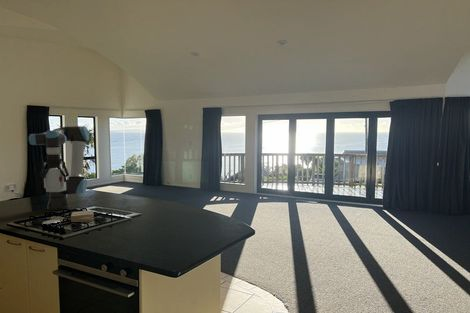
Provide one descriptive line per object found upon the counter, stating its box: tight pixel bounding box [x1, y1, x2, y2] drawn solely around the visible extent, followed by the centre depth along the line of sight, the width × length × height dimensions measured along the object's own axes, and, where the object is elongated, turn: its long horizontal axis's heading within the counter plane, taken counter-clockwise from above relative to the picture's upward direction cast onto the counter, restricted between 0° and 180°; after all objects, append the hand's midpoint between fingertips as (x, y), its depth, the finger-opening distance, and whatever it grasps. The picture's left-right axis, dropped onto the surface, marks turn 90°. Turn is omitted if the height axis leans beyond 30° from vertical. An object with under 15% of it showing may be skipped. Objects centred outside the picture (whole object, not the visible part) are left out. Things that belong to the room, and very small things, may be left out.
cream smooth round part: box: [42, 219, 61, 225], centre depth 216 cm, size 10×10×1 cm
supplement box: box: [44, 168, 66, 193], centre depth 226 cm, size 9×9×15 cm
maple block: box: [70, 209, 94, 223], centre depth 224 cm, size 13×13×5 cm
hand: (54, 187), depth 224 cm, fingers closed on supplement box, 10 cm apart
